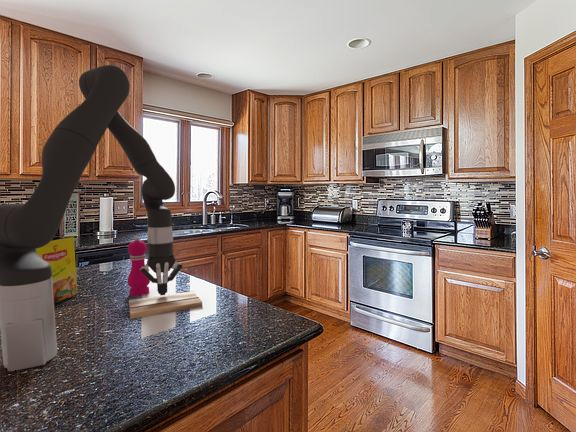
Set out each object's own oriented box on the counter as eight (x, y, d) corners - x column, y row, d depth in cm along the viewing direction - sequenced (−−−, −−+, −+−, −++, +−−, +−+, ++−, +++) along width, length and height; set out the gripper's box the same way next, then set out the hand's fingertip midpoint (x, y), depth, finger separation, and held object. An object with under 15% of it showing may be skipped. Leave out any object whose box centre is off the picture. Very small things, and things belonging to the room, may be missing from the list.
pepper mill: (123, 294, 117) (120, 237, 115) (141, 289, 123) (138, 234, 122) (137, 297, 114) (134, 238, 112) (155, 291, 120) (152, 235, 118)
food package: (38, 309, 103) (33, 244, 102) (35, 309, 104) (30, 244, 102) (78, 294, 118) (75, 237, 117) (75, 293, 119) (72, 236, 117)
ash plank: (197, 301, 109) (197, 297, 109) (130, 312, 100) (130, 307, 100) (193, 295, 115) (192, 291, 115) (129, 305, 106) (128, 300, 106)
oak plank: (202, 306, 104) (202, 301, 104) (130, 318, 95) (130, 312, 95) (198, 301, 109) (198, 296, 109) (129, 313, 100) (129, 307, 99)
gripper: (138, 244, 101) (141, 301, 103) (184, 240, 107) (186, 294, 109) (136, 240, 108) (139, 294, 109) (180, 237, 114) (181, 288, 115)
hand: (162, 294), depth 109 cm, fingers closed
